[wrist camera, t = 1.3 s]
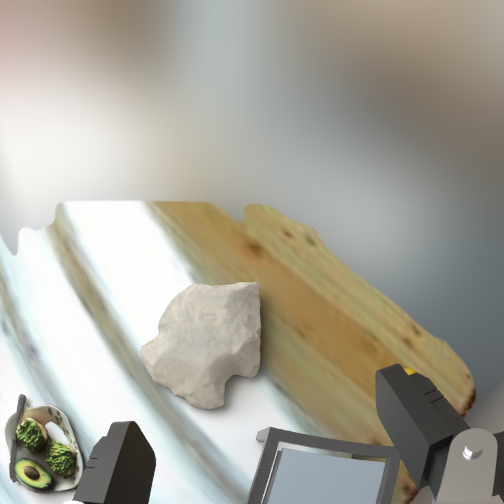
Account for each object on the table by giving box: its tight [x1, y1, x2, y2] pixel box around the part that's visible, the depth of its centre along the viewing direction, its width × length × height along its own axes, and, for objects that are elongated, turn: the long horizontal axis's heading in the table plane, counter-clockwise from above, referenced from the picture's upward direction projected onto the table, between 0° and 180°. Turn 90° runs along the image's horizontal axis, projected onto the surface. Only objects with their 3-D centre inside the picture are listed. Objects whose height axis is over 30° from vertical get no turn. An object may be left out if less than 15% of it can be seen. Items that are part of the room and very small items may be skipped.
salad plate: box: [5, 394, 84, 493], centre depth 39 cm, size 19×18×5 cm
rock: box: [140, 282, 261, 409], centre depth 54 cm, size 19×7×25 cm
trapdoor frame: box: [246, 427, 401, 504], centre depth 36 cm, size 19×19×15 cm
